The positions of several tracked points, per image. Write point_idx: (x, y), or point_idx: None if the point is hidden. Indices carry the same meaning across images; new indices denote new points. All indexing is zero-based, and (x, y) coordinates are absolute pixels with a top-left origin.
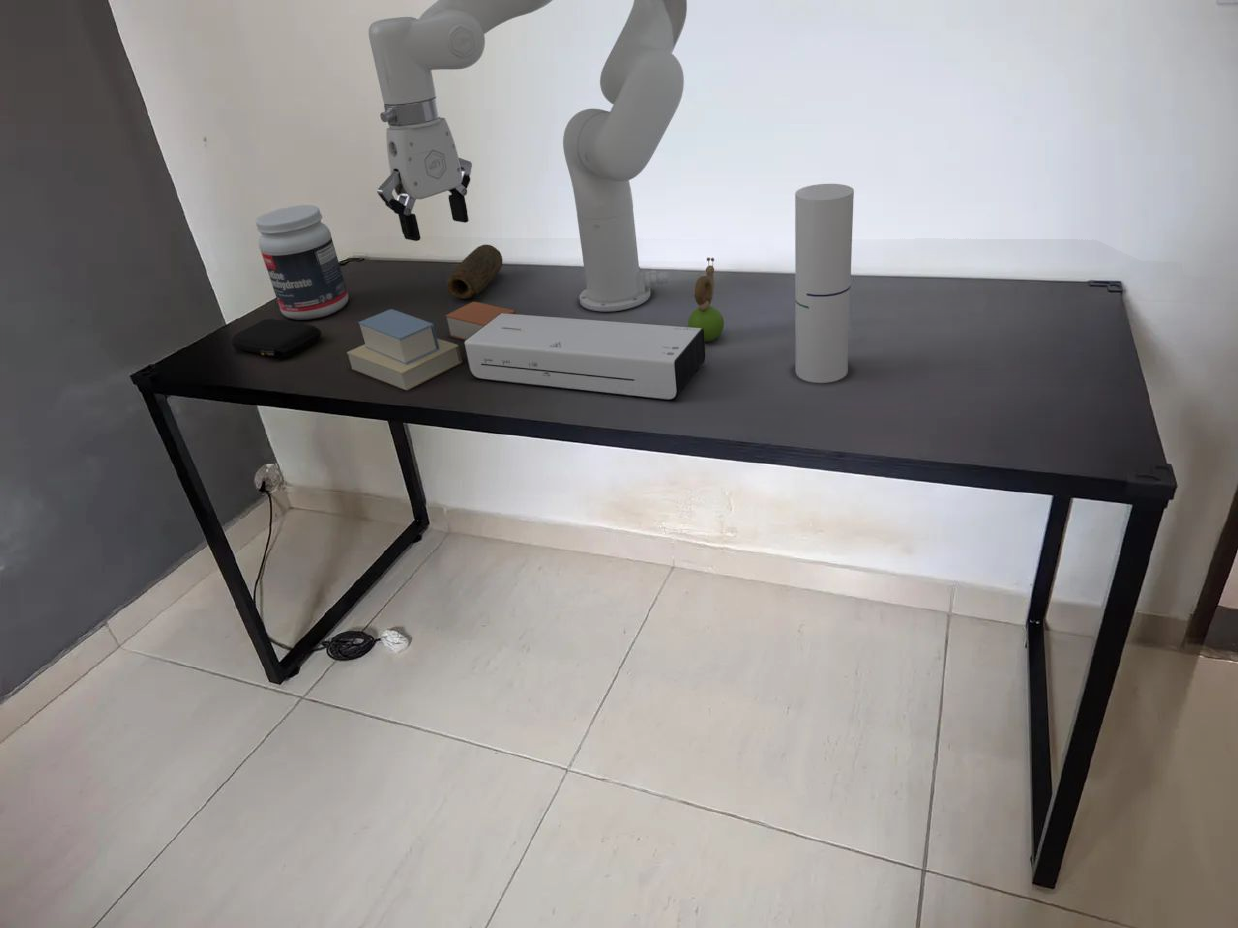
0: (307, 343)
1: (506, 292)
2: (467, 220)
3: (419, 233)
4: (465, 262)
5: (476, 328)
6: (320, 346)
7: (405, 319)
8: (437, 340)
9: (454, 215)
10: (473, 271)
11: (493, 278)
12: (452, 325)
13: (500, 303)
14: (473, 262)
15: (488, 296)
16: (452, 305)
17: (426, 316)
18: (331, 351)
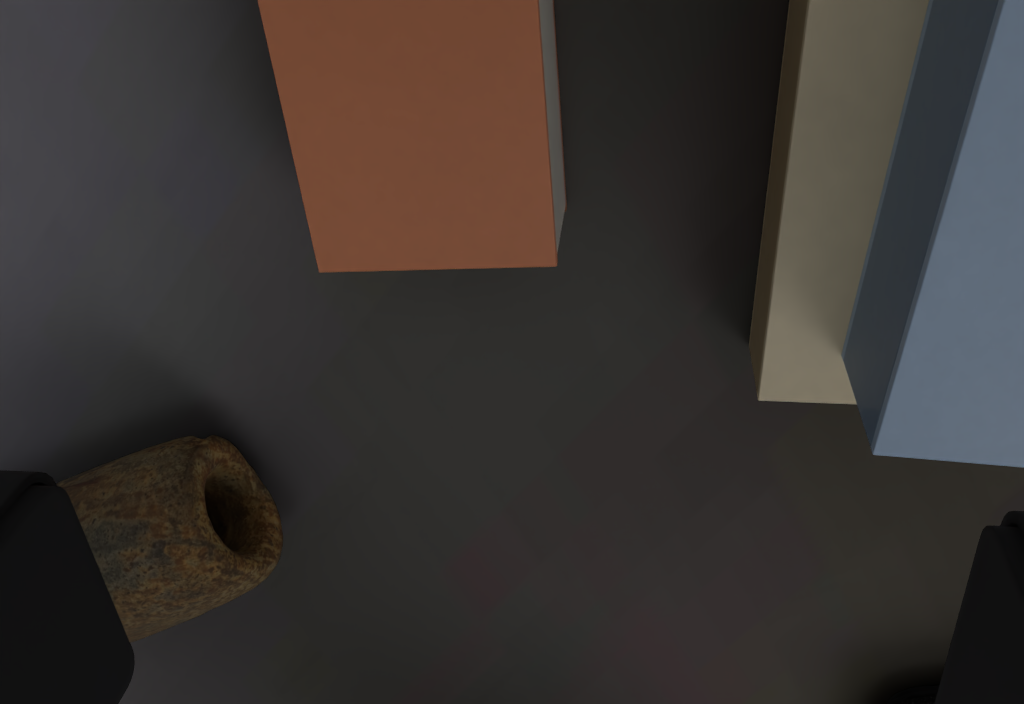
0: None
1: (46, 365)
2: (1, 477)
3: (1020, 586)
4: None
5: None
6: (935, 649)
7: (1009, 222)
8: (829, 40)
9: (83, 692)
10: (117, 524)
11: None
12: (558, 195)
13: (137, 291)
14: None
15: (136, 406)
16: (314, 477)
17: (467, 492)
18: (963, 580)
